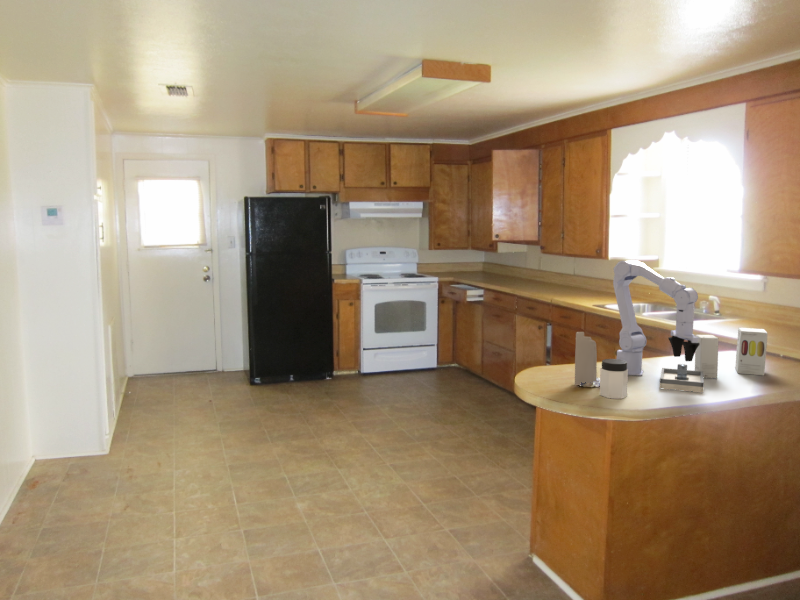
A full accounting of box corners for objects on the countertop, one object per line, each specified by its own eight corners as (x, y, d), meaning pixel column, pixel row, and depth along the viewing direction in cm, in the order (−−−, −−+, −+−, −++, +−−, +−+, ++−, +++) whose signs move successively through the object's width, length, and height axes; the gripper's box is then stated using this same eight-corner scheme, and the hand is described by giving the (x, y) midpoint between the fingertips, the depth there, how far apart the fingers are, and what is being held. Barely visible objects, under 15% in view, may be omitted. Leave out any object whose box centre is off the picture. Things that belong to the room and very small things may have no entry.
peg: (679, 385, 229) (680, 366, 228) (674, 382, 232) (675, 364, 232) (688, 384, 230) (689, 365, 229) (683, 382, 233) (684, 363, 232)
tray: (659, 388, 225) (660, 378, 224) (661, 376, 241) (662, 367, 241) (703, 392, 219) (703, 382, 219) (702, 380, 235) (702, 371, 235)
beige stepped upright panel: (616, 387, 227) (618, 332, 224) (577, 387, 227) (579, 332, 224) (609, 382, 234) (611, 328, 232) (572, 382, 234) (573, 329, 231)
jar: (606, 390, 222) (607, 357, 221) (629, 394, 217) (631, 360, 216) (596, 396, 216) (597, 361, 214) (619, 400, 210) (621, 365, 209)
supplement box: (737, 373, 246) (739, 330, 244) (734, 368, 254) (737, 327, 252) (765, 375, 242) (768, 332, 240) (761, 370, 251) (764, 328, 248)
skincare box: (717, 379, 237) (719, 338, 235) (698, 378, 239) (700, 337, 237) (711, 373, 246) (713, 334, 244) (693, 373, 247) (695, 333, 245)
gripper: (663, 318, 235) (661, 354, 237) (685, 325, 221) (683, 363, 222) (681, 318, 236) (679, 354, 237) (704, 324, 221) (702, 362, 223)
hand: (682, 358), depth 230 cm, fingers open, 7 cm apart
